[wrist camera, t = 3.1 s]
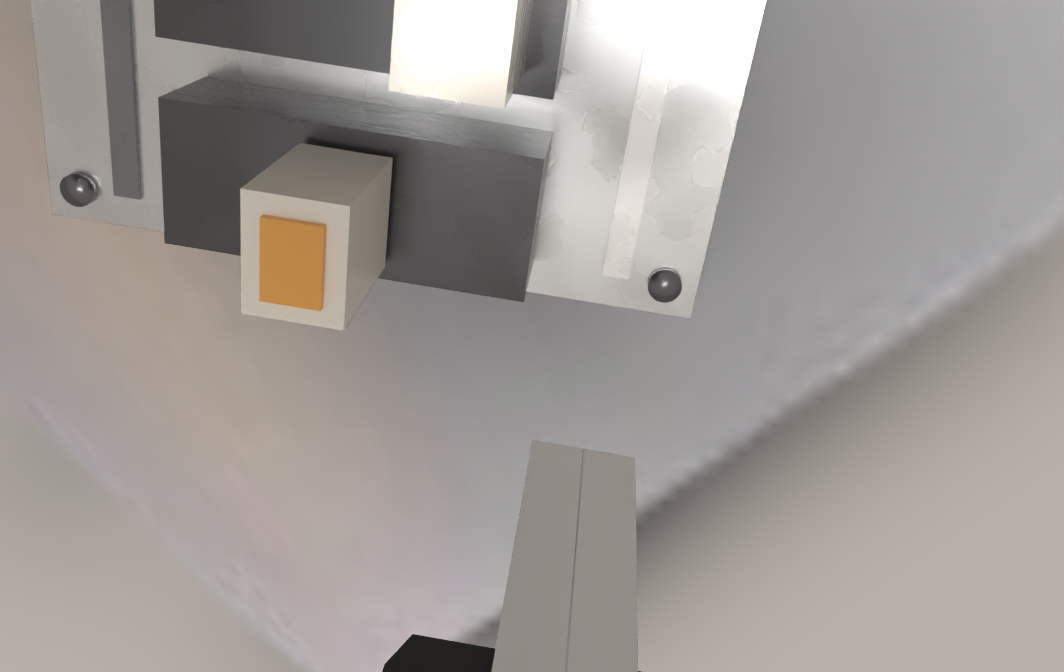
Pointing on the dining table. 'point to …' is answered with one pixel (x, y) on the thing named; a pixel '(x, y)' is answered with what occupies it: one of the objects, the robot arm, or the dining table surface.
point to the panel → (566, 111)
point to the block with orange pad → (314, 235)
